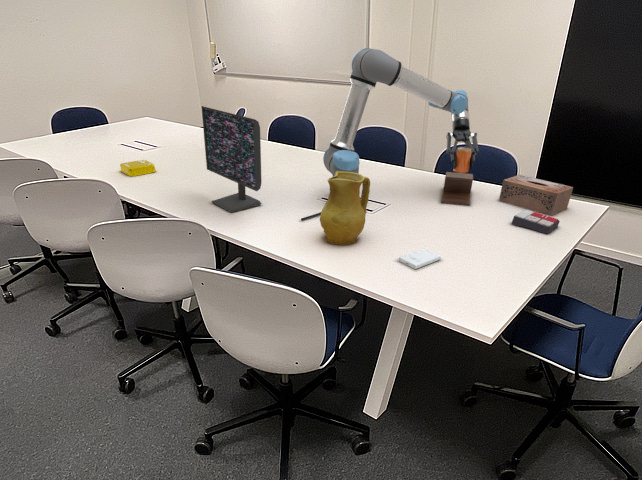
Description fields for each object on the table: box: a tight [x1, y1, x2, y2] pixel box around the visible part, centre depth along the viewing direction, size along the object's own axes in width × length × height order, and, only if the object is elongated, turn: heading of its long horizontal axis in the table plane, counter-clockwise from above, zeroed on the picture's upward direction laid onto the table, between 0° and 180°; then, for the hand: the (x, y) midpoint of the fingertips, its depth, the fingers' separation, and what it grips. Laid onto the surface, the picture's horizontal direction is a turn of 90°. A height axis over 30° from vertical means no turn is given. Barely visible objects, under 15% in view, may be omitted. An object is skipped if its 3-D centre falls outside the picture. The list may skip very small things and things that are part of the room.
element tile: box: [119, 159, 156, 177], centre depth 251 cm, size 15×15×5 cm
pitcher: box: [319, 171, 371, 246], centre depth 167 cm, size 17×19×25 cm
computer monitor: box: [201, 105, 262, 214], centre depth 196 cm, size 44×16×40 cm, turn 40°
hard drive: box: [398, 248, 442, 270], centre depth 157 cm, size 2×8×12 cm
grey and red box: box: [511, 209, 561, 235], centre depth 184 cm, size 11×4×15 cm
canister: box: [452, 146, 472, 174], centre depth 203 cm, size 7×7×10 cm
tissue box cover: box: [498, 174, 574, 217], centre depth 205 cm, size 26×14×10 cm, turn 39°
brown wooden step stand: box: [440, 171, 474, 207], centre depth 215 cm, size 24×13×8 cm, turn 164°
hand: (463, 167), depth 201 cm, fingers closed on canister, 7 cm apart
